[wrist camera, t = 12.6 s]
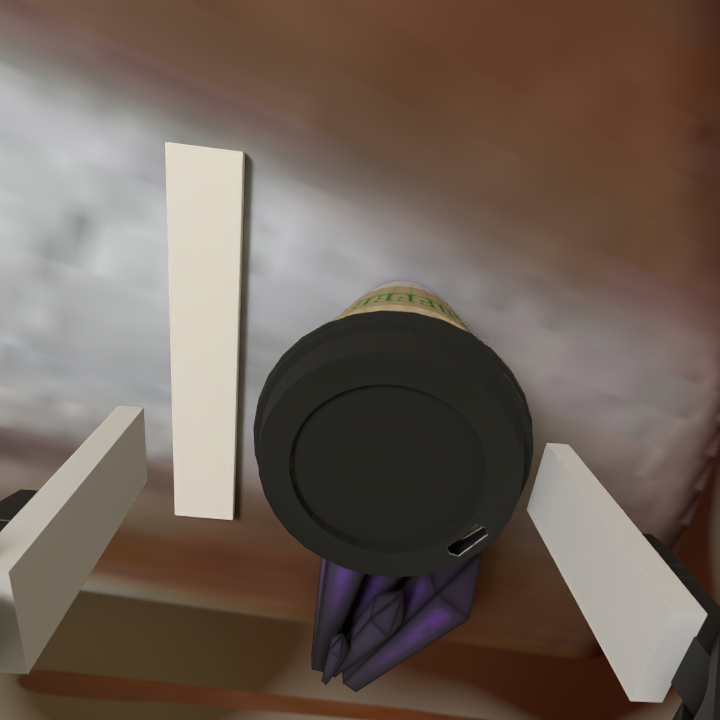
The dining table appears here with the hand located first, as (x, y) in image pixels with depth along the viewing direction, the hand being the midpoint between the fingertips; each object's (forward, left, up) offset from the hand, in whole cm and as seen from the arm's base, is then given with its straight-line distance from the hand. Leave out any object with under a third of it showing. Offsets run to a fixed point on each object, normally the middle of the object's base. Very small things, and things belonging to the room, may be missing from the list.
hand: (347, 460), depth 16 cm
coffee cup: (+3, 0, -15) cm, 15 cm away
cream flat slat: (-9, -3, -15) cm, 17 cm away
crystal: (+4, -18, -15) cm, 24 cm away
